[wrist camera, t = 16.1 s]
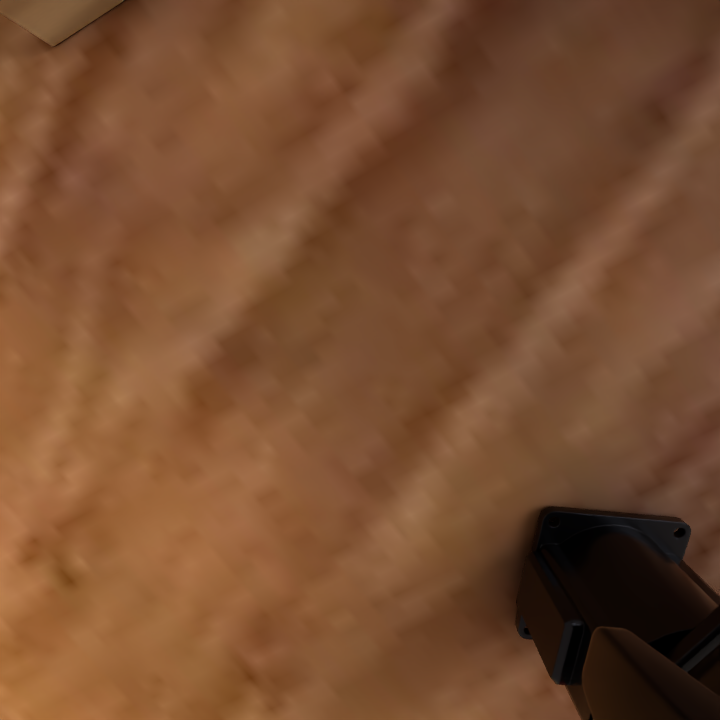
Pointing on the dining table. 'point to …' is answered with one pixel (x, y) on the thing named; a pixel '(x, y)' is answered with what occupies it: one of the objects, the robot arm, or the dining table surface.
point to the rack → (54, 16)
